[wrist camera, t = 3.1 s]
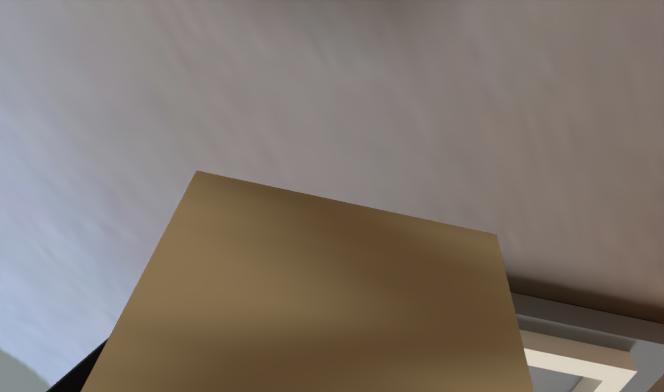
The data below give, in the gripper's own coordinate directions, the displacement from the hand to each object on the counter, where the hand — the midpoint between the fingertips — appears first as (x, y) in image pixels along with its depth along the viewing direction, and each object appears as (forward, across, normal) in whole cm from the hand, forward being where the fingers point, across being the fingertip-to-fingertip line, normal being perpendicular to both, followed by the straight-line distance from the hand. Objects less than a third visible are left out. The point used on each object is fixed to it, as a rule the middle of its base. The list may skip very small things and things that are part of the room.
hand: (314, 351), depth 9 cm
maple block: (+1, 0, 0) cm, 1 cm away
